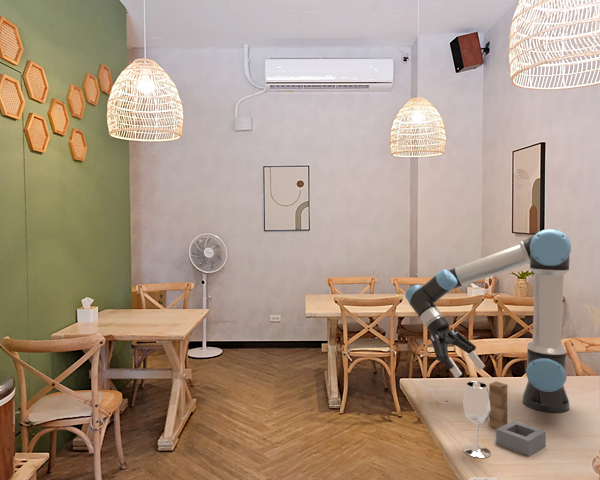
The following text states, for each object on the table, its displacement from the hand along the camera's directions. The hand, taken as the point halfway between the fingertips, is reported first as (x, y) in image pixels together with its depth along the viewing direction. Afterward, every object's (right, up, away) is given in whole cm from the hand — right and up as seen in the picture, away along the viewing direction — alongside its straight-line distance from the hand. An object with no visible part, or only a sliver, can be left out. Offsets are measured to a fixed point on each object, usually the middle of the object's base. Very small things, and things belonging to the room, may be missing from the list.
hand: (470, 372), depth 161 cm
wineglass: (-7, -17, -25) cm, 31 cm away
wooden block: (+6, -16, -7) cm, 18 cm away
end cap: (+7, -16, -21) cm, 27 cm away
